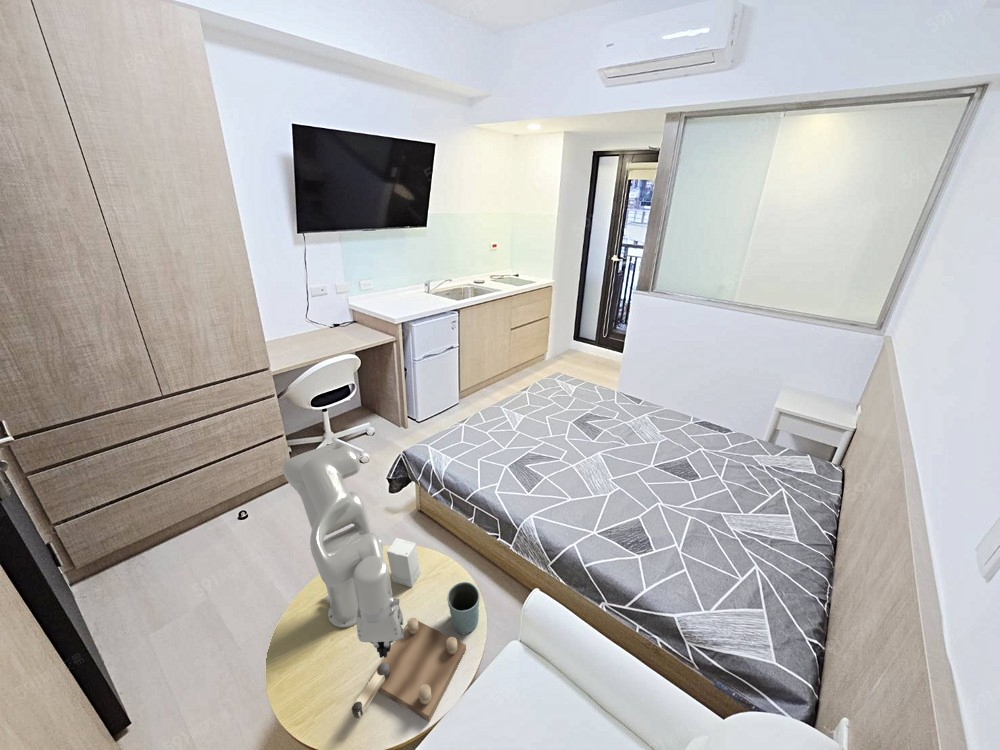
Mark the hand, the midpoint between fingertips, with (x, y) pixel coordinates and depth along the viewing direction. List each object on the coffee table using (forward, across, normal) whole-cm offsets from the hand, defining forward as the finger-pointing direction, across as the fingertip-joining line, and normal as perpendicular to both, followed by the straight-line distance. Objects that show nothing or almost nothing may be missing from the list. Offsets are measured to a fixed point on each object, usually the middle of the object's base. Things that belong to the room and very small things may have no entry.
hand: (384, 651), depth 101 cm
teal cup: (+23, -19, -22) cm, 37 cm away
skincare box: (+24, +2, -39) cm, 46 cm away
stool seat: (+23, -6, -8) cm, 25 cm away
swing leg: (+20, +6, -1) cm, 21 cm away
